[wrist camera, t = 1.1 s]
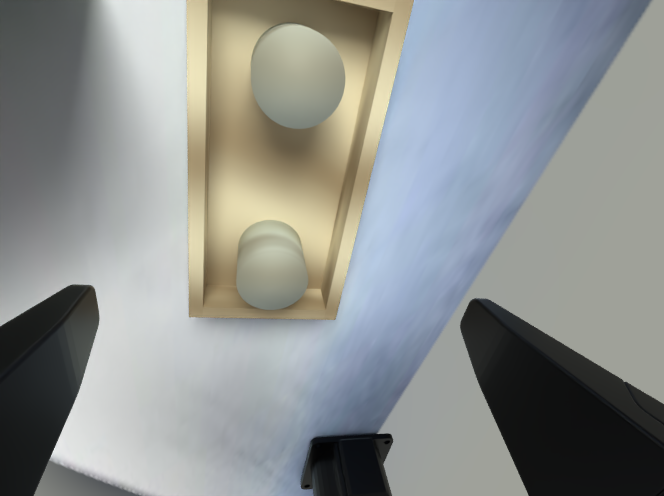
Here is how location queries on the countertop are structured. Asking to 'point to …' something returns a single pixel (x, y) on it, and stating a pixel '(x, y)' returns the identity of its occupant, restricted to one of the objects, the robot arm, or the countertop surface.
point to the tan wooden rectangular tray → (282, 147)
